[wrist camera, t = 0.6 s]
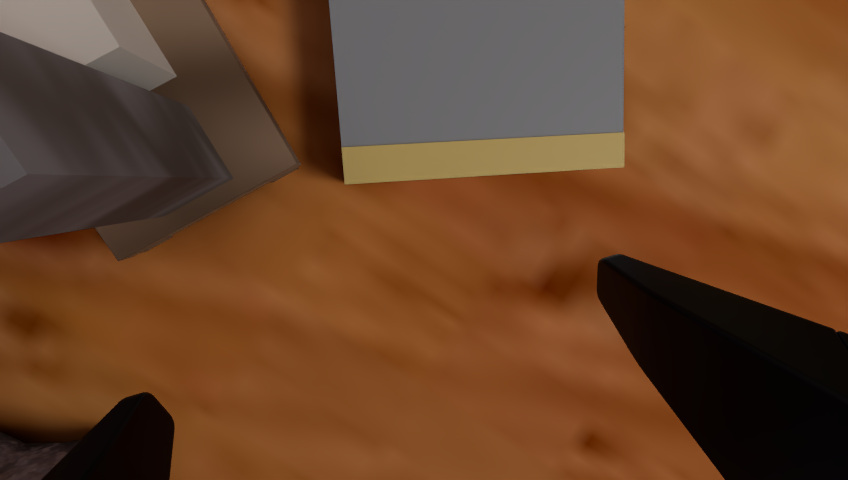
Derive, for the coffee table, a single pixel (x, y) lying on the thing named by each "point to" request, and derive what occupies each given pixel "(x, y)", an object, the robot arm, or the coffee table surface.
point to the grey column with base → (132, 137)
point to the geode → (29, 458)
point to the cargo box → (90, 36)
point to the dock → (477, 87)
